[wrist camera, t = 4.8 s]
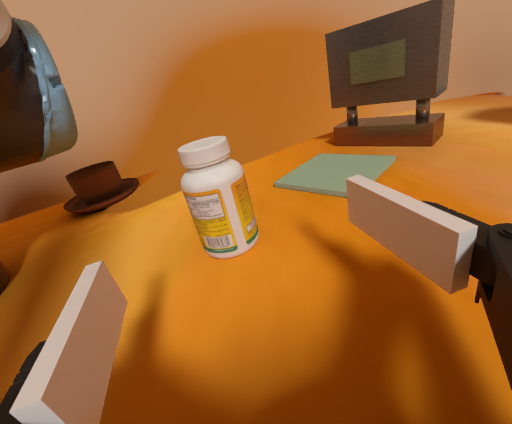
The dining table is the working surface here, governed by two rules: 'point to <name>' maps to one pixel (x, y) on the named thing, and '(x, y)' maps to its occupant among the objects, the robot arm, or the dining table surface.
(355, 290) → the dining table surface
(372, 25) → the mounted unit
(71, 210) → the brown top hat
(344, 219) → the dining table surface
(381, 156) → the green mat
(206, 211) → the supplement bottle
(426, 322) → the dining table surface
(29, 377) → the robot arm
